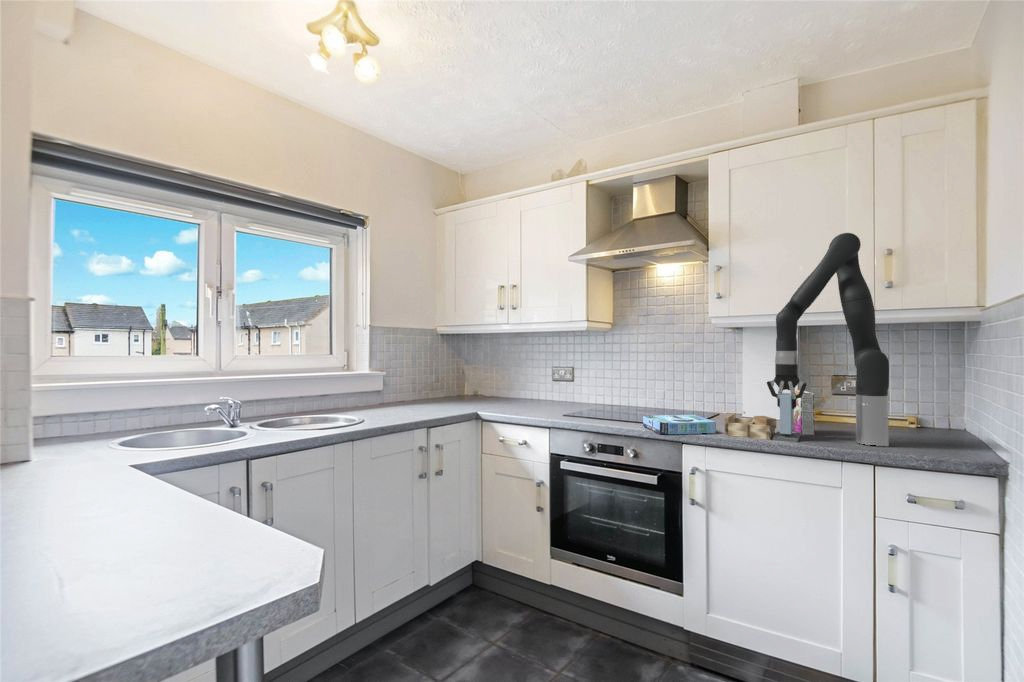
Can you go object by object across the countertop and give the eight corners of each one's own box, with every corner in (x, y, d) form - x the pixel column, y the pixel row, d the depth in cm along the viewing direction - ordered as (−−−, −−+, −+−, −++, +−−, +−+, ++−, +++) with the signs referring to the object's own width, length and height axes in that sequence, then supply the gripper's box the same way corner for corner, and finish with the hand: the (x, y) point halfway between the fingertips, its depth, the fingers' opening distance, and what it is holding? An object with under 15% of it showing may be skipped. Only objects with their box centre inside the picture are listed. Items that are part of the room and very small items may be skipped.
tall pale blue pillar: (793, 429, 192) (793, 393, 192) (790, 434, 183) (790, 396, 183) (783, 429, 194) (783, 392, 194) (780, 433, 185) (779, 395, 185)
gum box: (694, 425, 217) (642, 427, 216) (694, 413, 217) (642, 415, 215) (716, 433, 198) (659, 435, 196) (715, 420, 198) (659, 422, 196)
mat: (800, 436, 192) (800, 433, 192) (797, 442, 181) (797, 439, 181) (777, 433, 197) (777, 431, 197) (772, 439, 185) (772, 437, 185)
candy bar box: (790, 430, 205) (790, 390, 205) (804, 430, 204) (804, 390, 204) (800, 435, 194) (800, 392, 194) (815, 435, 193) (814, 393, 193)
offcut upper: (763, 424, 196) (763, 415, 196) (776, 428, 188) (776, 418, 188) (754, 424, 196) (753, 416, 196) (766, 428, 188) (766, 419, 188)
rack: (774, 433, 198) (774, 415, 198) (769, 439, 185) (769, 420, 185) (732, 429, 206) (732, 412, 206) (724, 435, 194) (724, 417, 194)
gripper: (809, 362, 188) (809, 409, 188) (767, 362, 196) (767, 406, 196) (807, 363, 182) (807, 411, 182) (764, 362, 190) (764, 408, 190)
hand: (786, 408), depth 189 cm, fingers closed on tall pale blue pillar, 3 cm apart
